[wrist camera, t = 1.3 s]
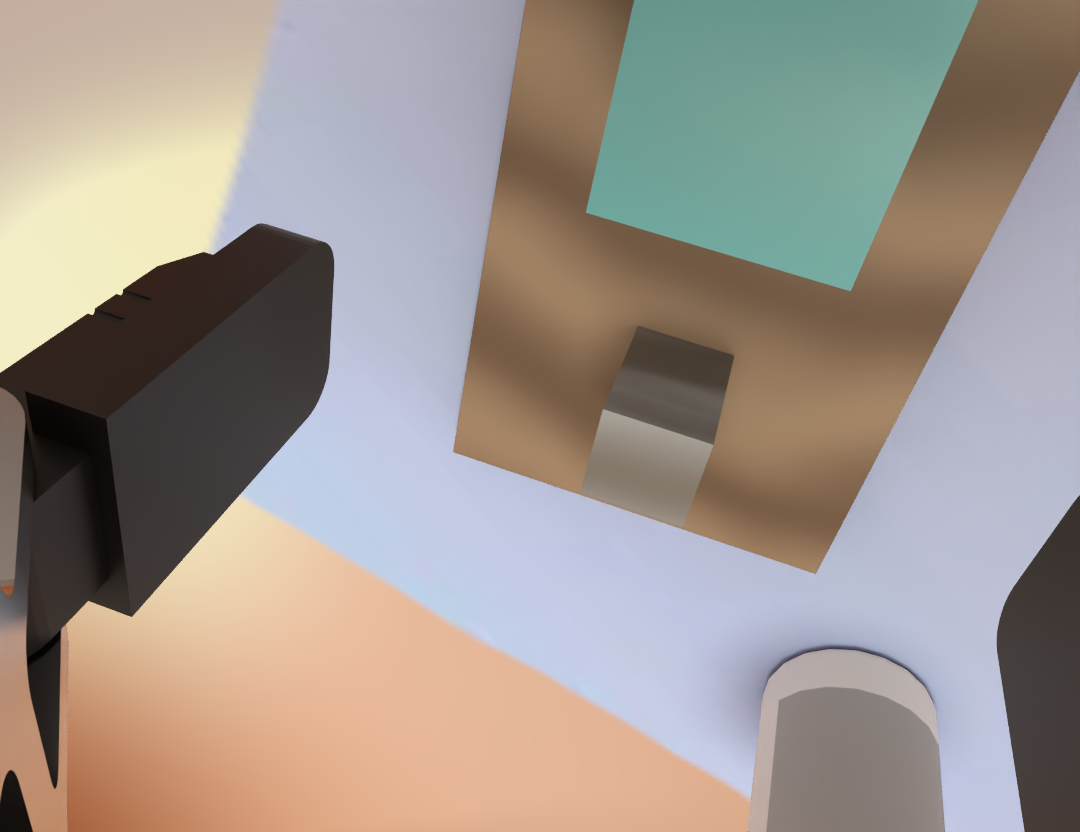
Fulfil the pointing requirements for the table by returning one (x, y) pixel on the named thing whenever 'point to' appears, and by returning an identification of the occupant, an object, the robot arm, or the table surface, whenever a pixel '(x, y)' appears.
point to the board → (729, 298)
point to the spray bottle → (846, 748)
